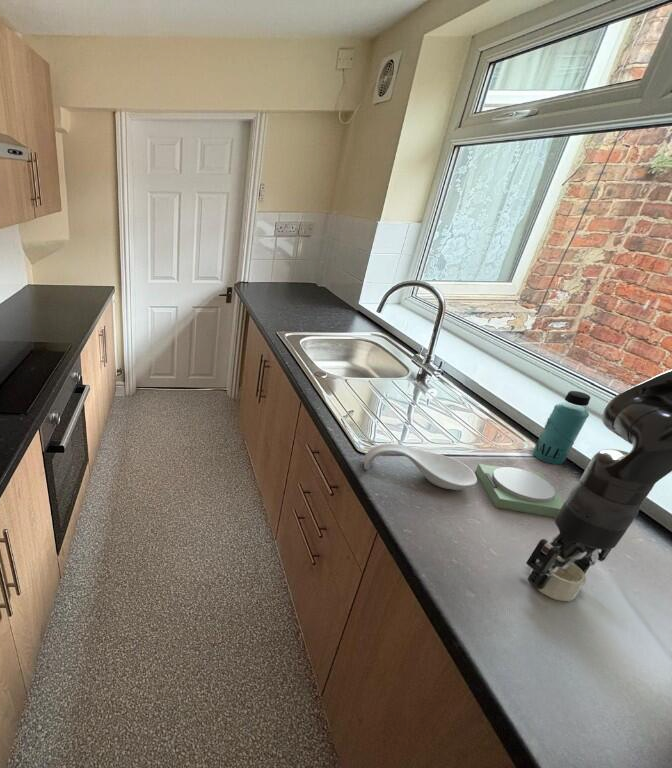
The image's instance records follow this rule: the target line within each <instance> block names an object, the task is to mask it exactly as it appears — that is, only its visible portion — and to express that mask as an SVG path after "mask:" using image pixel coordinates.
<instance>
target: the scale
mask: <svg viewBox="0 0 672 768" xmlns="http://www.w3.org/2000/svg"><path fill="white" fill-rule="evenodd" d="M474 473H475V475H476V476H477V477H478V479H479V480H480V482H481V484H482V486H483V487H484V490H485V491H486V492H487V494H488V496H489V498H490V500H491V501H492V504H493V505H494V507H495V508H497V509H503V510H508V511H516V512H520V513H527V514H532V515H539V516H543V517H551V518H554V519H555V518H556V516H557V514H558V512H559V510H560V509H561V507H562V505H563V503H564V502H565V500H563V498H562V497H561V496H560V494H559V493H558V492H557V491H556V489H555V488H554V487H553V486H552V485H551V483H550V482H549V480H548V479H547V478H546V476H545V475H544V474H543V473H542V472H537V471H530V470H525V469H521V468H518V467H510V466H497V465H489V464H484V463H483V464H482V463H477V466H476V469H475V472H474Z"/></svg>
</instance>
